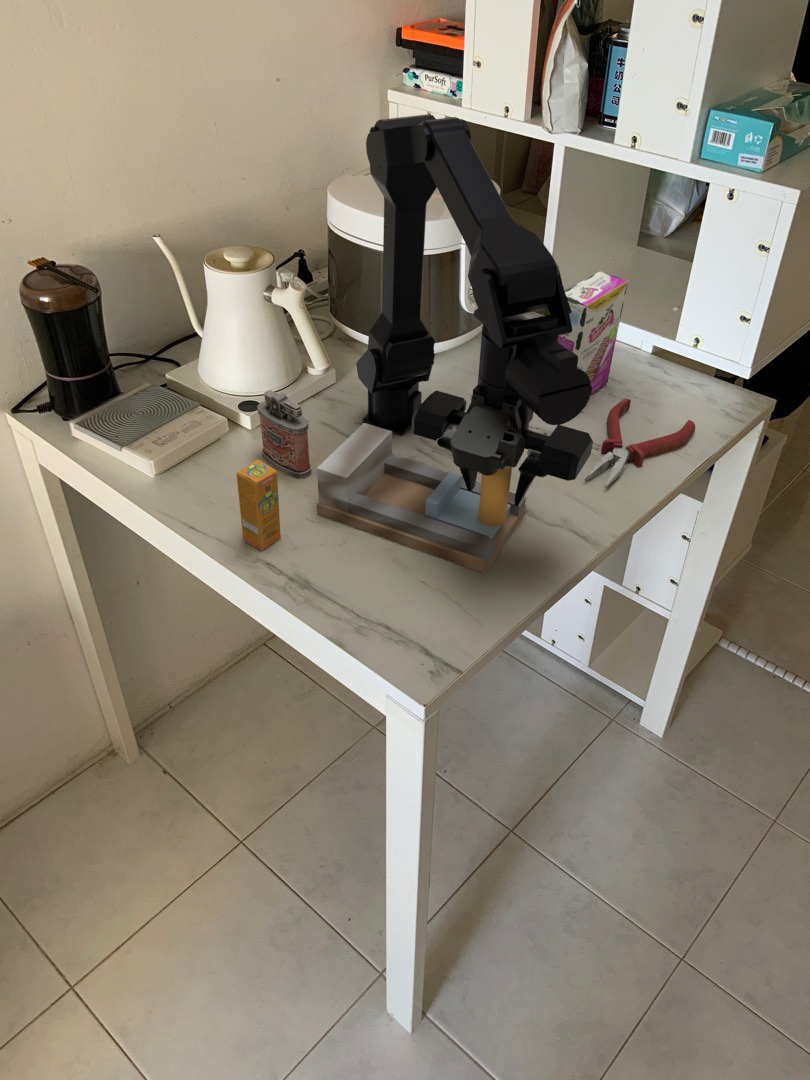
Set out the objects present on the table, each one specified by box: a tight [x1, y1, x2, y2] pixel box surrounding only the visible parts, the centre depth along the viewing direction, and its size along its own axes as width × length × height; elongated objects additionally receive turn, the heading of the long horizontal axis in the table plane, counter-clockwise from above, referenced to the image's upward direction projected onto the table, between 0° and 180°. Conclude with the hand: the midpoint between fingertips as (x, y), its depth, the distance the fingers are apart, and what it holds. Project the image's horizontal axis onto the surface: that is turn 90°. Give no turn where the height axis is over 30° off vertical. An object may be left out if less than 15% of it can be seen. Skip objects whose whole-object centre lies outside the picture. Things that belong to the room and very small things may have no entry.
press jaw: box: [425, 466, 513, 539], centre depth 100 cm, size 9×6×8 cm
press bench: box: [316, 423, 527, 574], centre depth 104 cm, size 22×12×6 cm, turn 62°
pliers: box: [584, 398, 696, 489], centre depth 116 cm, size 12×20×3 cm, turn 145°
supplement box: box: [236, 459, 281, 551], centre depth 98 cm, size 3×3×10 cm
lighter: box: [256, 389, 312, 480], centre depth 110 cm, size 8×3×10 cm, turn 47°
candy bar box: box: [557, 271, 629, 397], centre depth 122 cm, size 11×5×16 cm, turn 139°
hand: (494, 496), depth 99 cm, fingers open, 5 cm apart
